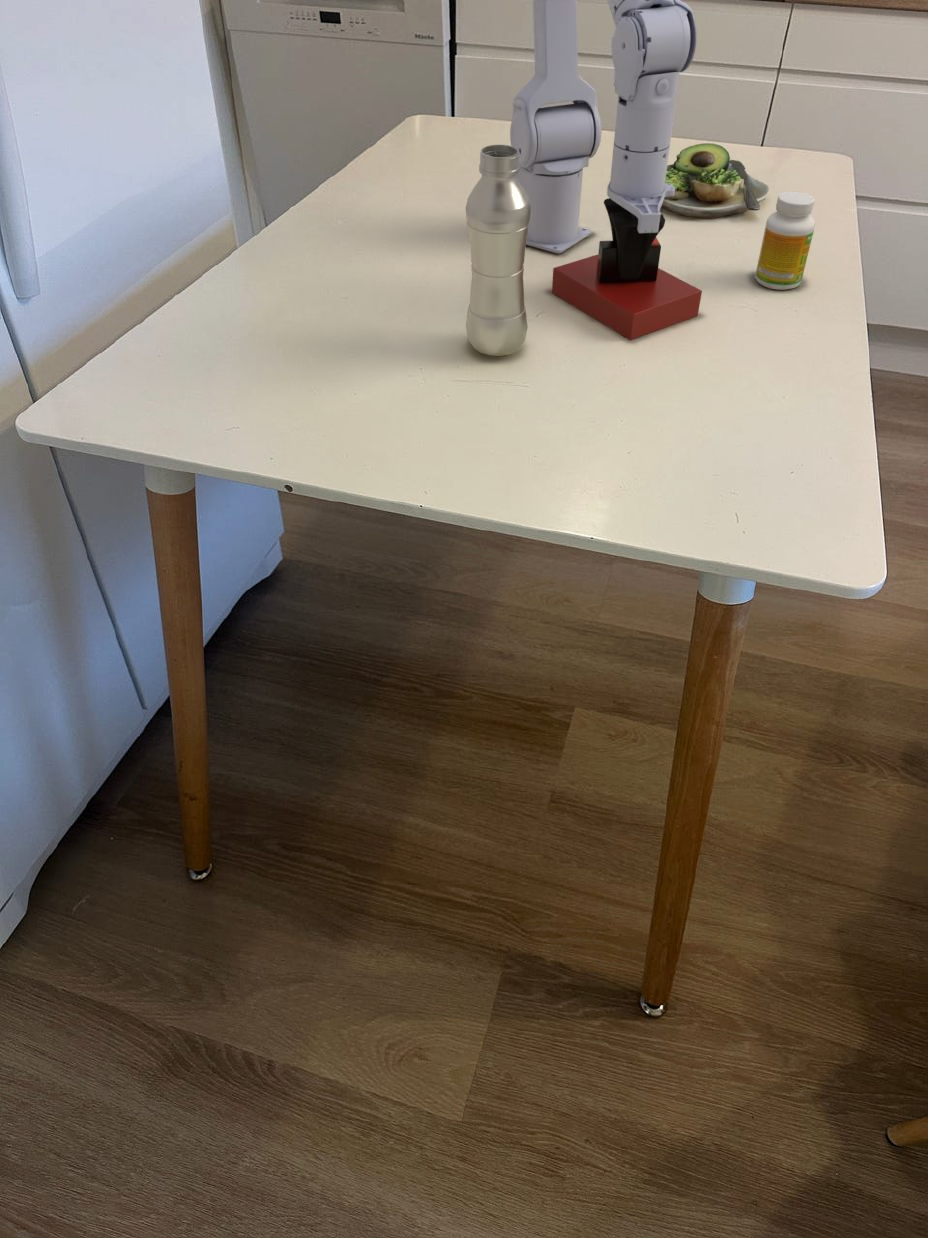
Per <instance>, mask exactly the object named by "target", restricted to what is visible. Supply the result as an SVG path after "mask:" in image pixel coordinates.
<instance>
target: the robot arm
mask: <svg viewBox="0 0 928 1238" xmlns="http://www.w3.org/2000/svg"><path fill="white" fill-rule="evenodd" d="M607 3H608V6H609V10H610V14H611V16H612V19H613V23H614V26H615V28H614V33H613V36H612V37H611V57H612V63H613V69H614V78H613V87H614V93H615V94H616V95H618V97H617V104H616V105H617V106H616V116H615V125H614V126H615V127H614V138H613V146H612V149H613V150H612V159H611V160H612V161H611V168H610V169H611V170H610V178H609V179H610V180H609V183H608V184H607V190H606V195H607V197H608V198H605V199H604V200H603V204H604V207H605V209H606V210H605V211H606V213H607V216H608V219H609V224H610V229H611V238H612V241H617V246H618V269H619V275H620V278H621V279H627V278H639V276H640V273H641V271H642V268H643V265H644V263H645V260H646V257H647V254H648V252H649V249H650V247H651V245H652V243H653V241H654V240H655V238H657V237H658V235H659V234H660V232H661V231H662V230H663V228H664V227H665V224H666V218H665V216H664V215H663V213H661V212H660V211H661V208H662V203H663V200H664V198H665V197H670V196H674V194H675V188H674V186H673V185H672V184H670V183H665V178H666V171H667V165H668V162H669V155H670V148H671V141H672V134H673V133H672V132H673V128H674V127H673V126H674V119H675V111H676V110H675V109H676V104H677V96H678V89H679V81H680V73H683V72H685V71H687V69H689V67H690V65H692V62H693V61H694V57H695V55H696V54H695V53H696V50H697V41H698V40H697V39H698V33H697V32H698V31H697V25H696V20H695V15H694V14H695V13H694V11H693V9H692V8H691V6H690V5H689V4H688V3H686V2H684V1H682V0H607ZM532 19H533V20H532V21H533V47H534V48H533V51H534V54H533V55H534V74H533V76H532V78H530V80H529V81H528V82H527V83H526V84H525V85H524V86H523V87H522V88H521V89H520V90H519V91H518V92H517V93H516V94H515V96H513V99H512V101H513V102H512V118H511V123H510V130H509V140H510V146H512V147H515V148H517V149H518V150H519V167H520V168H519V173H518V174H517V175H516V178H517V179H518V181H519V182H520V184H521V185H522V187H523V188H524V190H525V192H526V194H527V196H528V198H529V202H530V206H531V217H530V224H529V229H528V235H527V241H526V246H529V247H533V248H537V249H540V250H544V251H547V252H551V253H555V254H562V253H564V252H565V251H567V250H568V249H570V248H571V247H572V246H574V245H576V244H578V243H579V242H580V241H582V240H584V239H586V238H587V237H589V236H591V234H592V229H589V228H586V227H582V226H580V225H579V223H580V211H581V197H582V188H583V187H582V186H583V185H582V184H583V174H584V169H585V168H588V167H589V164H590V162H589V161H590V159H592V158H594V156H595V155H596V154H597V152H598V149H599V147H600V145H601V142H602V141H601V140H602V133H603V132H602V131H603V130H602V121H601V116H600V113H599V107H598V106H599V105H598V96H597V91H596V89H595V88H593V86H592V85H591V84H590V83H588V82H587V81H586V80H584V79H583V78H582V77H581V76H580V75H579V58H578V57H579V54H578V53H579V52H578V50H579V48H578V39H579V38H578V0H532ZM567 102H572V103H568V104H567ZM560 103H566V104H561V105H560ZM552 104H559V105H552ZM545 105H552V106H545ZM542 106H543V107H542ZM544 106H545V107H544Z"/></svg>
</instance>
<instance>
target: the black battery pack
mask: <svg viewBox="0 0 928 1238" xmlns="http://www.w3.org/2000/svg"><path fill="white" fill-rule="evenodd" d="M598 245H599V246H598V264H597V274H596V276H597V278H598V281H599V283H618V282H646V281H656V280H657V273H658V268H659V265H660V259H661V252H662V251H661V250H662V246H661V244H660V241H659V239H658V238H657V237H656V238H655V240H654V241H653V243H652V245H651V247H650V249H649V252H648V254H647V257H646V260H645V263H644V265H643V268H642V271H641V273H640V276H639V278H627V279H621V278H620V275H619V269H618V246H617V241H613V240H600V241H599V243H598Z"/></svg>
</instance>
